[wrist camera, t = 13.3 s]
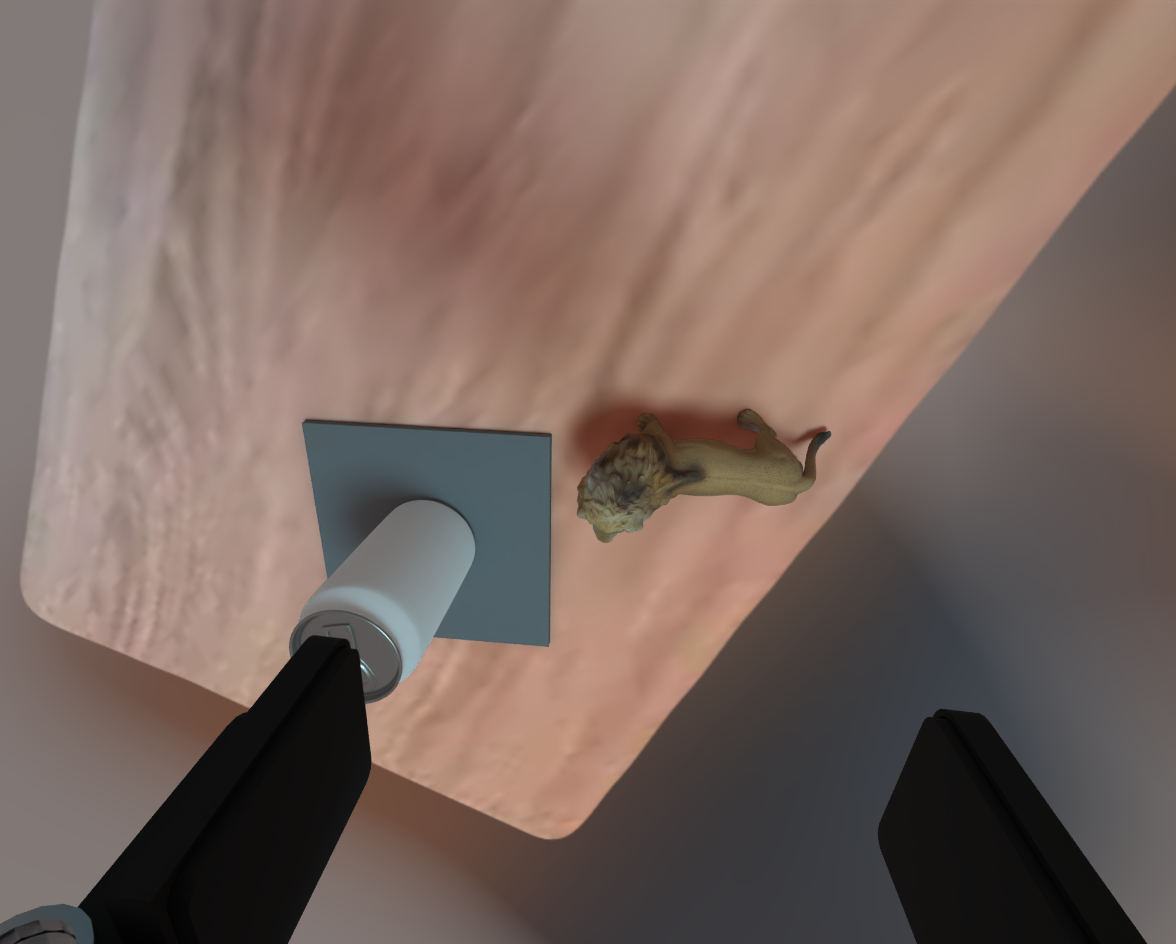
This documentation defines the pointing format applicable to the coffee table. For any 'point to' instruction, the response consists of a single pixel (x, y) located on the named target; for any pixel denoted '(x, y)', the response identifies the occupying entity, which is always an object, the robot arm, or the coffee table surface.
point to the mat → (461, 482)
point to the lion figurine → (688, 473)
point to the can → (392, 592)
